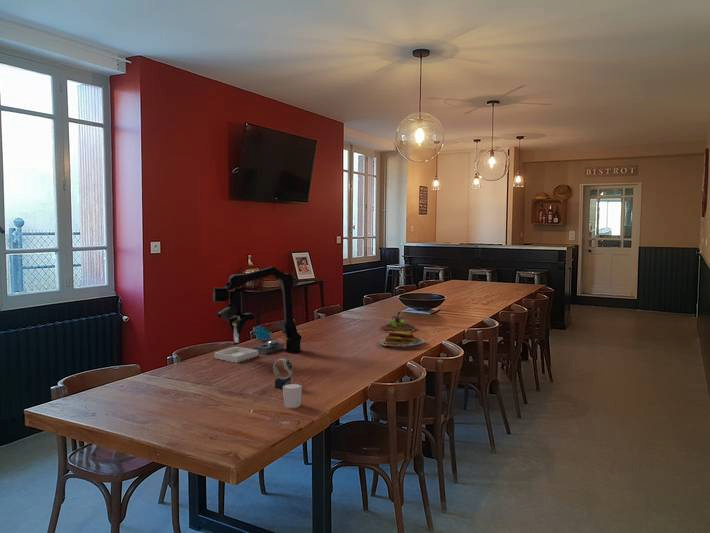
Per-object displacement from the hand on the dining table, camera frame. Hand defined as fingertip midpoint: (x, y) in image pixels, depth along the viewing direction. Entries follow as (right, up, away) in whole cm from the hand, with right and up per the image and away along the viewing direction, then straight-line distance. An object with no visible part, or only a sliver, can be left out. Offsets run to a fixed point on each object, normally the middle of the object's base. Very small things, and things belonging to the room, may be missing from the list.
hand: (236, 333), depth 259 cm
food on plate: (+82, -10, +28) cm, 87 cm away
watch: (+28, -16, -44) cm, 55 cm away
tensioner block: (+13, -11, +15) cm, 23 cm away
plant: (+83, -7, +69) cm, 108 cm away
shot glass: (+35, -18, -67) cm, 77 cm away
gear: (+6, -9, +39) cm, 41 cm away
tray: (0, -12, +1) cm, 12 cm away
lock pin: (0, -4, 0) cm, 5 cm away
